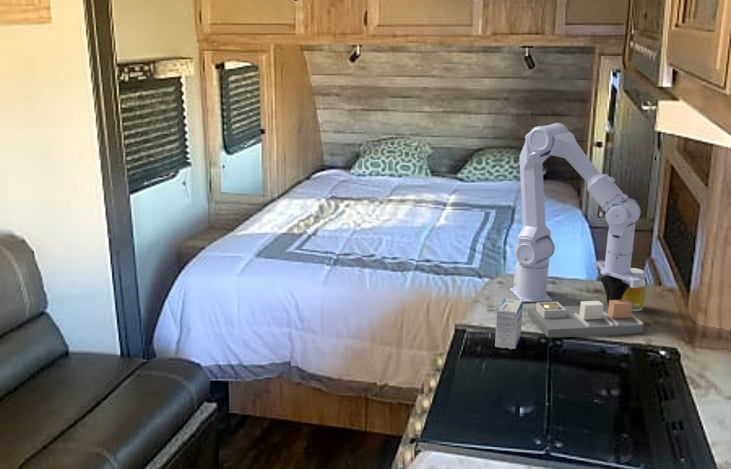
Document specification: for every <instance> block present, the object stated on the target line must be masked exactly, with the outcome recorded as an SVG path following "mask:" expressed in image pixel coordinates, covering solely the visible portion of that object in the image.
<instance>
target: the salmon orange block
mask: <svg viewBox="0 0 731 469" xmlns="http://www.w3.org/2000/svg"><path fill="white" fill-rule="evenodd" d="M632 312H633V311H632V303H631V302H630V301H629V300H609V308H608V315H609V316H611V317H612V318H631V314H632Z"/></svg>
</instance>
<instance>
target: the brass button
mask: <svg viewBox="0 0 731 469" xmlns="http://www.w3.org/2000/svg"><path fill="white" fill-rule="evenodd" d="M546 302H547V303H544V304H543V308H544V309H545V310H559V305H558V304H556V303H551V302H552V301H546Z"/></svg>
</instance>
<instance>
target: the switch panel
mask: <svg viewBox="0 0 731 469" xmlns="http://www.w3.org/2000/svg"><path fill="white" fill-rule="evenodd" d="M547 302H548V301H542V302H535V303H536V304H535V305H536V306H535V307H528V308H527V317H528V318H529V319H530V320H531V321H532V322H533V323H534V325H536V327H537V328H538V329H539V330H540V331H541V332H542V333H543V334H544V335H545V336H546V337H547V338H548V337H549V338H548V339H552V338H553V337H554V338H568V337H569V338H570V337H571V338H572V337H588V336H592V337H593V336H611V335H633V334H643V331H644V330H643V329H644V322H643V321H641V320H640V319H639V318H638V317H637V316H635V315H634V314H632V313H631V318H612V317H611V316H609V315H608V308H609V307H608V304H607V303H606V304H603V315H602V319H589V320H584V319H583V318H581V317H580V316H579V314H580V305H562V304H561V303H560V302H559V301H550V302H551V303H556V304H558V305H559V310H545V309H544V308H543V304H544V303H547ZM554 338H553V339H554Z"/></svg>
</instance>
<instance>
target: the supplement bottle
mask: <svg viewBox="0 0 731 469" xmlns="http://www.w3.org/2000/svg"><path fill="white" fill-rule="evenodd" d="M630 271H631V272H632V273H633V274H634V275H635V276H636V277H637V278H639V279H641V282H640V287H639V288H631V287H630V286H629V287H628V289H627V290H626V291H625V293H624V295H623V297H622V299H621V300H629V301H630V302H631V303H632V311H631V312H640V311H642V310H643V308H644V303H645V302H644V301H645V292H646V285H647V284H646V283H647V282H646V280H645V279H644V276H645V272H644V271H645V270H643V269H640V268H635V267H630Z"/></svg>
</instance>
